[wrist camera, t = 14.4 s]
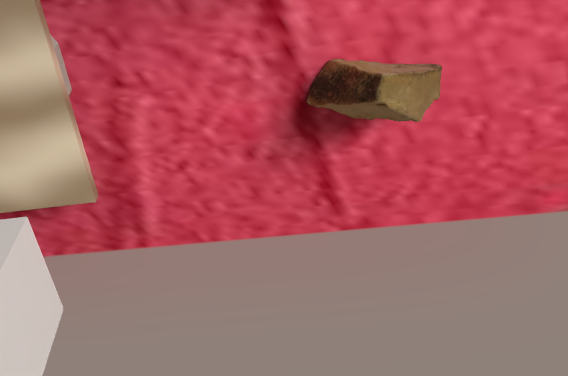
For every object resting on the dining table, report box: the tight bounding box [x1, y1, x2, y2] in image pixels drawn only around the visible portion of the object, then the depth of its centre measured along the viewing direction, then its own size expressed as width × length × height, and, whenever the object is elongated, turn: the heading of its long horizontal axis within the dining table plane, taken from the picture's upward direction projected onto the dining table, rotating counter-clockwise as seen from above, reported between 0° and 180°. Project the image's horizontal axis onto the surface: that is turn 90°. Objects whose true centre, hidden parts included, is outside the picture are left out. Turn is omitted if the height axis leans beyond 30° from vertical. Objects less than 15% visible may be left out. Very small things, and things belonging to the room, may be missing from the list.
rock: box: [306, 59, 442, 122], centre depth 44 cm, size 11×9×10 cm
